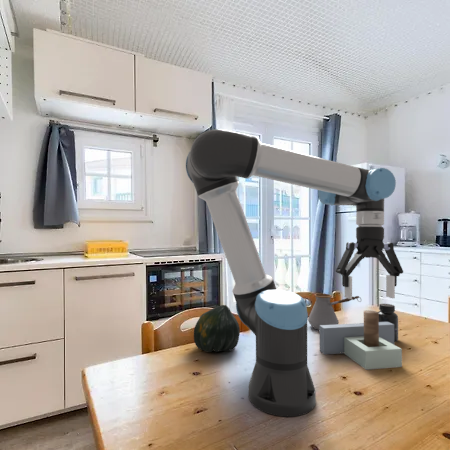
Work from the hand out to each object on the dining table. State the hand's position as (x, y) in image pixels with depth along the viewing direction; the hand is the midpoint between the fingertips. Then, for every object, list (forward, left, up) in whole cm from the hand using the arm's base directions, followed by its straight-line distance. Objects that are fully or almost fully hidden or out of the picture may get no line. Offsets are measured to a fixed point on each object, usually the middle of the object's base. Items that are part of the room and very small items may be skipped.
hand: (369, 297), depth 90 cm
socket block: (0, 0, -18) cm, 18 cm away
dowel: (0, 0, -16) cm, 16 cm away
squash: (-44, +16, -19) cm, 50 cm away
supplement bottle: (+16, +15, -18) cm, 29 cm away
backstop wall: (0, +7, -18) cm, 20 cm away
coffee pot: (+2, +26, -19) cm, 32 cm away
